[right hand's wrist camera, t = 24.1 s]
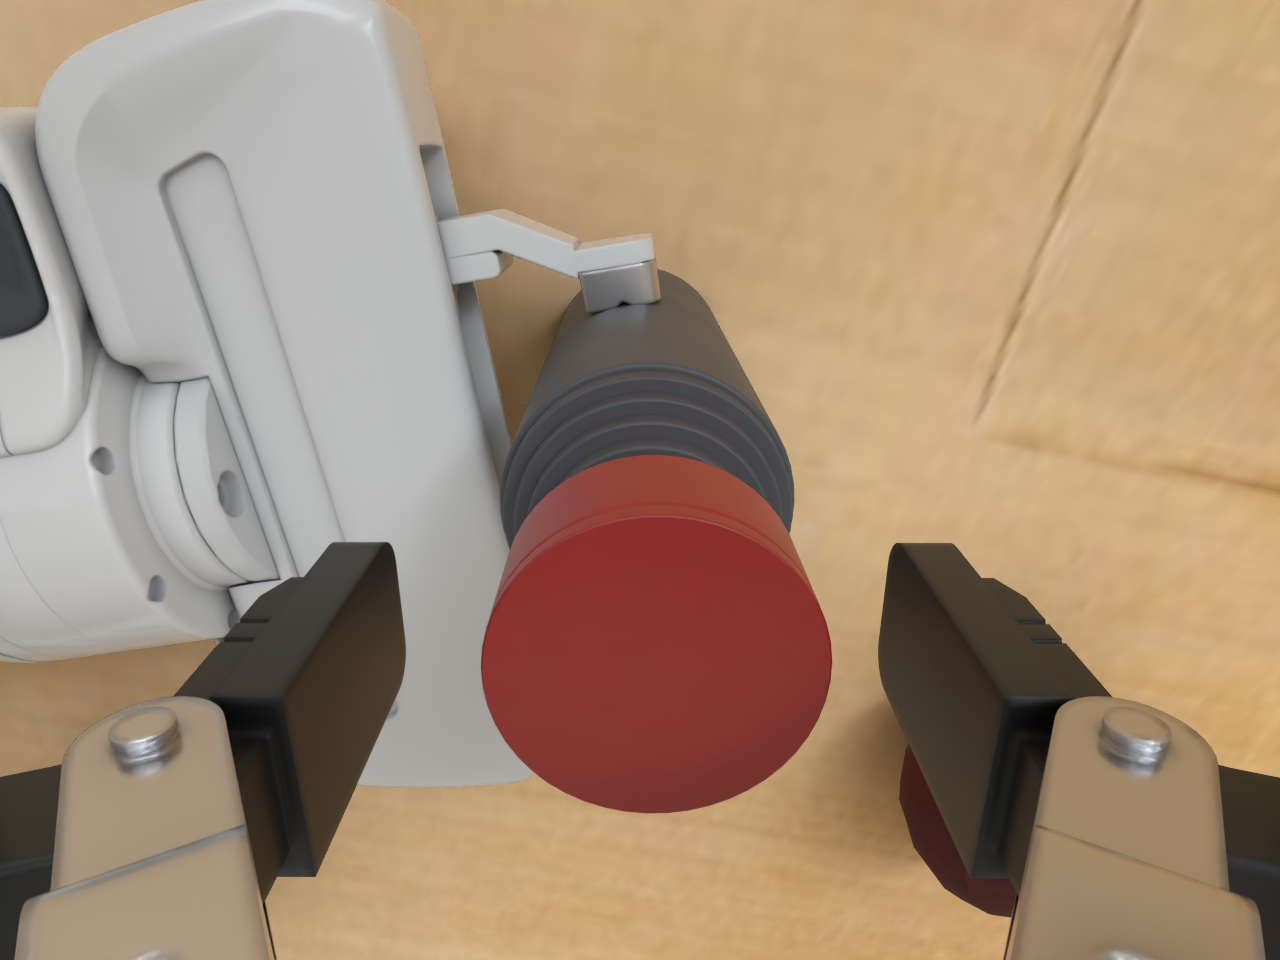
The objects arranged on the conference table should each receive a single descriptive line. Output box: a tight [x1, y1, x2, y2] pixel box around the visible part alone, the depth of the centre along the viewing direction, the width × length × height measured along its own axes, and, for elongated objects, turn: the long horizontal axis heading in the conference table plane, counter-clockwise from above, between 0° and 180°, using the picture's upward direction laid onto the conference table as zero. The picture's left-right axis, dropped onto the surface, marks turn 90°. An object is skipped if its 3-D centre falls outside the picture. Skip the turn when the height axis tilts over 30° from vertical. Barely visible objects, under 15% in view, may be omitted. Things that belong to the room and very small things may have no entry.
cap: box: [481, 455, 832, 813], centre depth 11 cm, size 4×4×2 cm
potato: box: [899, 745, 1017, 917], centre depth 29 cm, size 7×8×7 cm
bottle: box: [500, 269, 794, 549], centre depth 19 cm, size 5×5×17 cm
